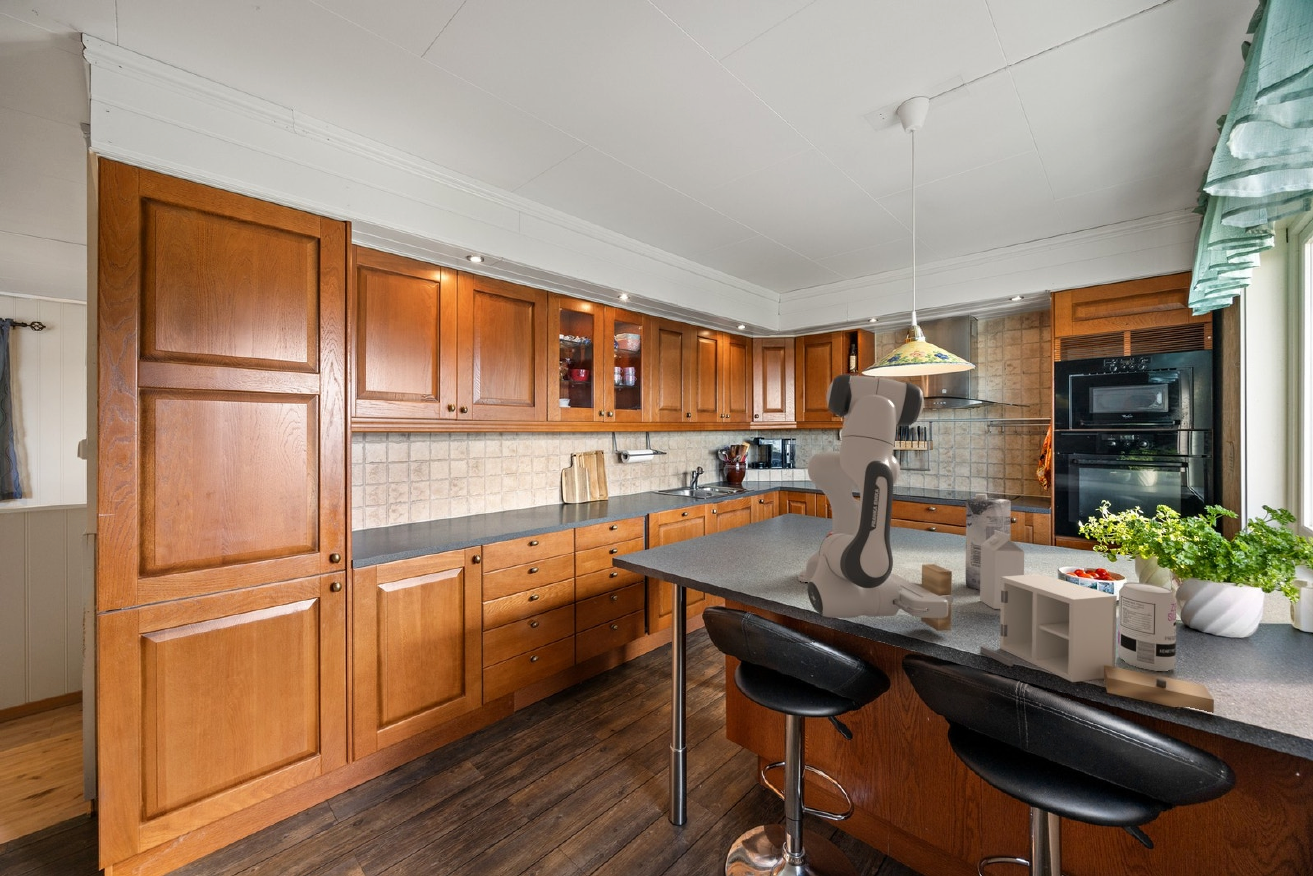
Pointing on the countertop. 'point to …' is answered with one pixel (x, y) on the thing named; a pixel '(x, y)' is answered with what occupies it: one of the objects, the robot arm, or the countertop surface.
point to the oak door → (937, 592)
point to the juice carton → (983, 530)
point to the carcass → (1057, 626)
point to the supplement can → (1147, 626)
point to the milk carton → (998, 566)
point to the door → (1157, 689)
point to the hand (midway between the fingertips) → (939, 593)
